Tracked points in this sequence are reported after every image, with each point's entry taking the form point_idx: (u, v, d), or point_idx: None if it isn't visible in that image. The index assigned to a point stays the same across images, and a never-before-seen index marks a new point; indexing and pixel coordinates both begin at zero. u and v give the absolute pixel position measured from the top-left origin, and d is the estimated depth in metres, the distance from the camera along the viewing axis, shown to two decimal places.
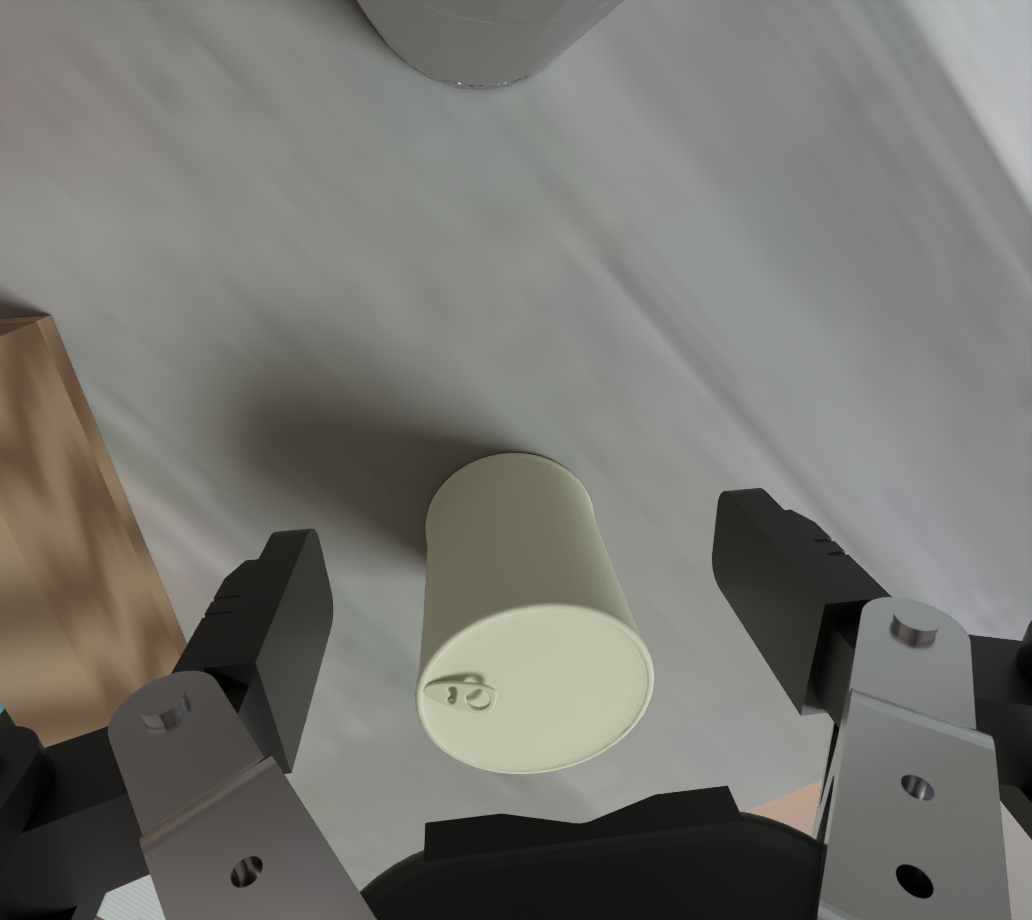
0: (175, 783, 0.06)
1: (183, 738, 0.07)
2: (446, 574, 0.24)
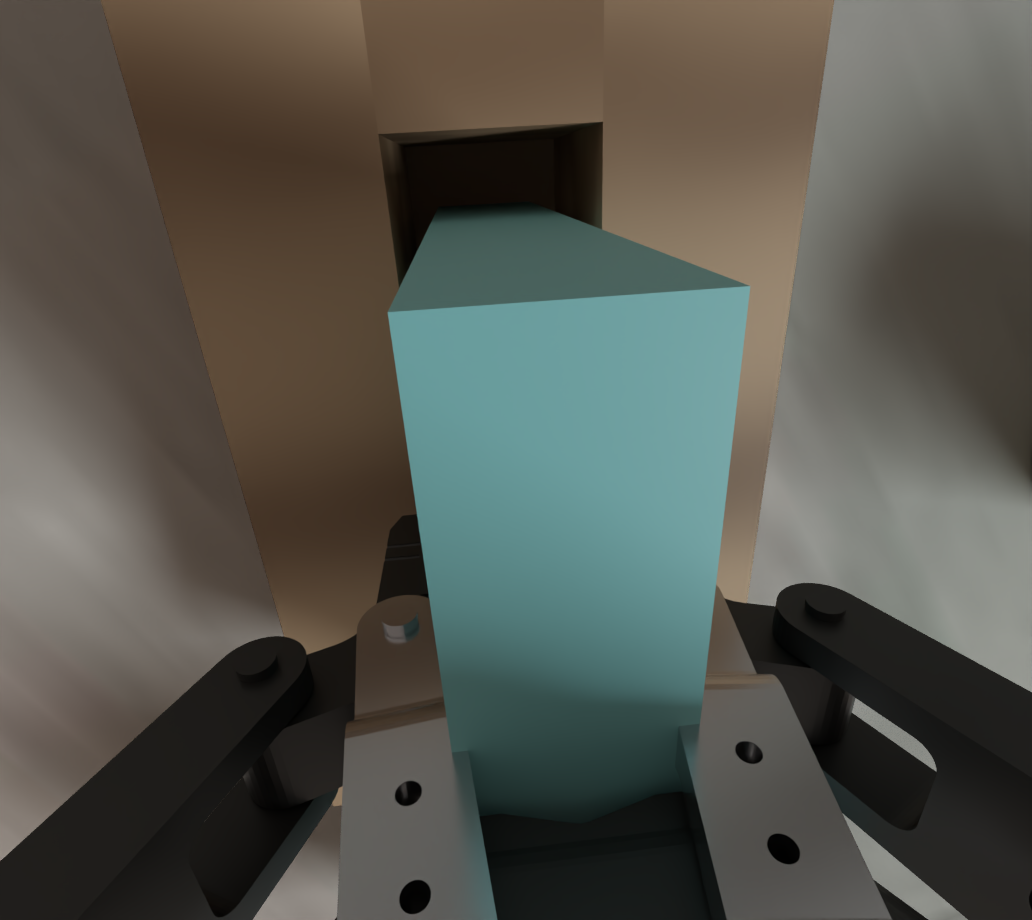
0: (388, 688, 0.07)
1: (403, 653, 0.08)
2: None
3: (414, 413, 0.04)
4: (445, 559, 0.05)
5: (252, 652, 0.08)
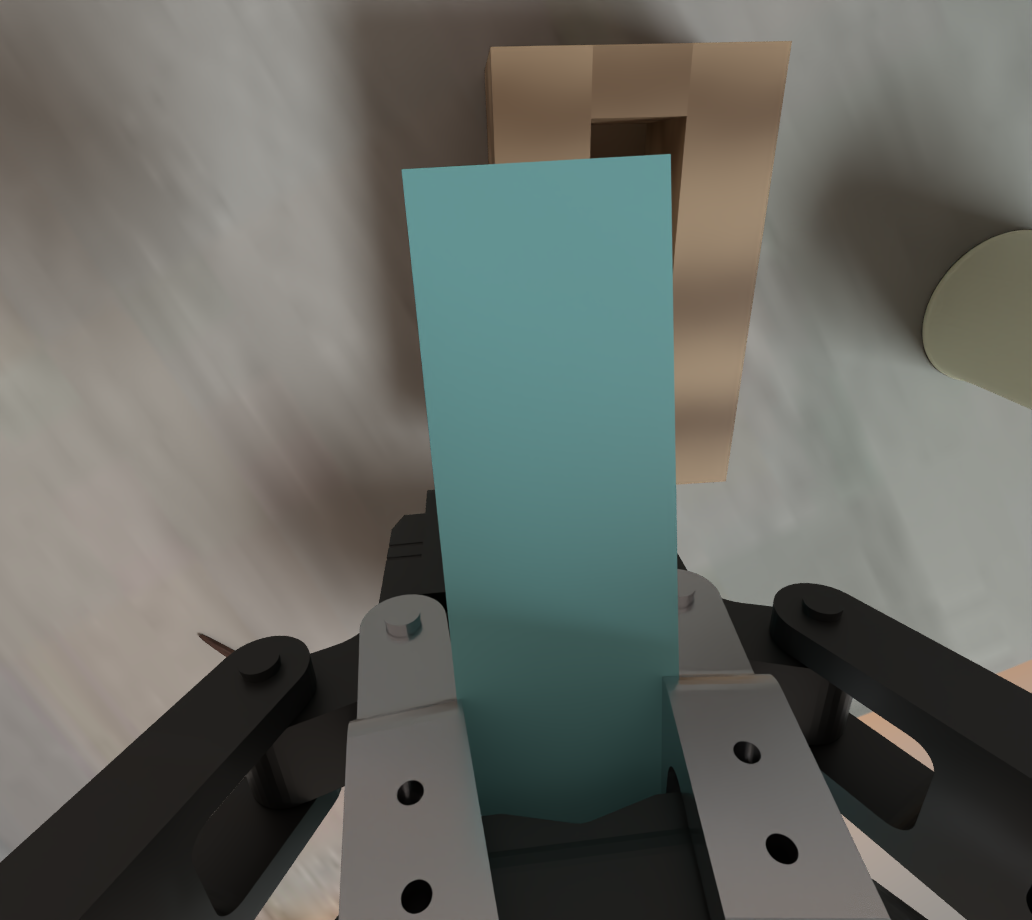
0: (390, 688, 0.07)
1: (406, 653, 0.08)
2: None
3: (419, 252, 0.06)
4: (440, 388, 0.06)
5: (255, 651, 0.08)
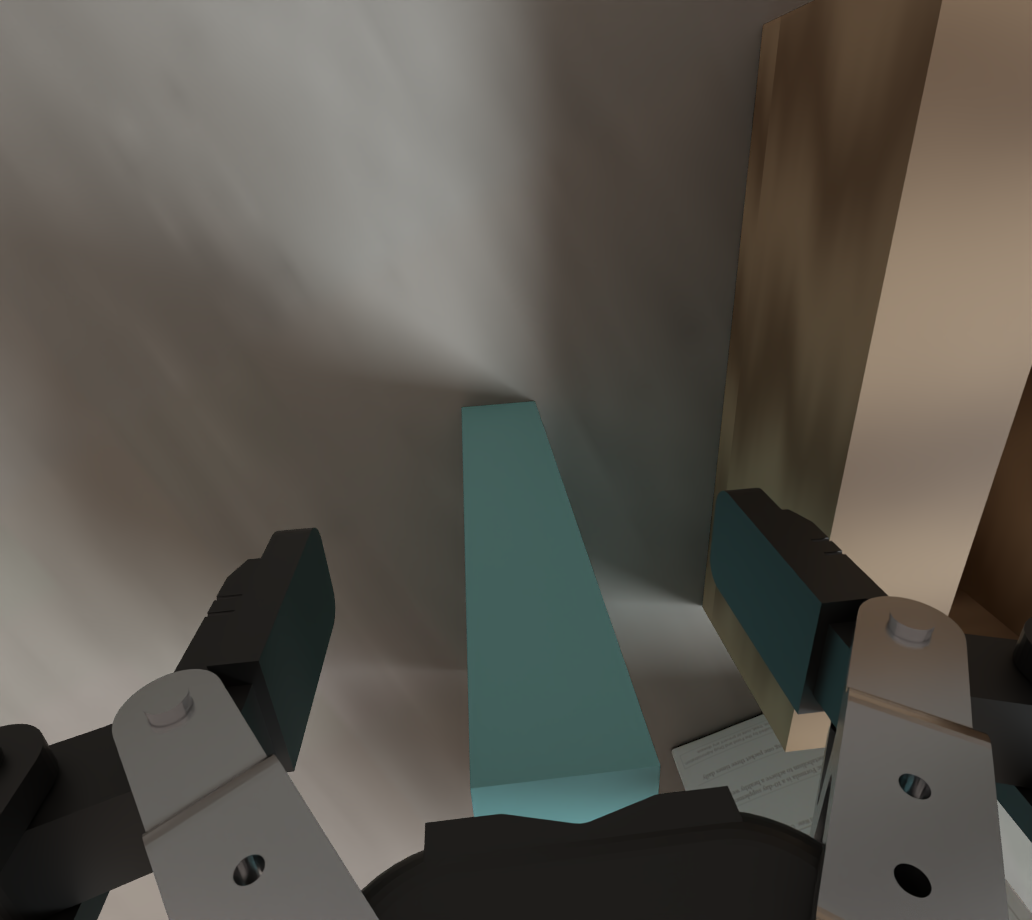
0: (178, 781, 0.06)
1: (186, 737, 0.07)
2: None
3: None
4: None
5: None
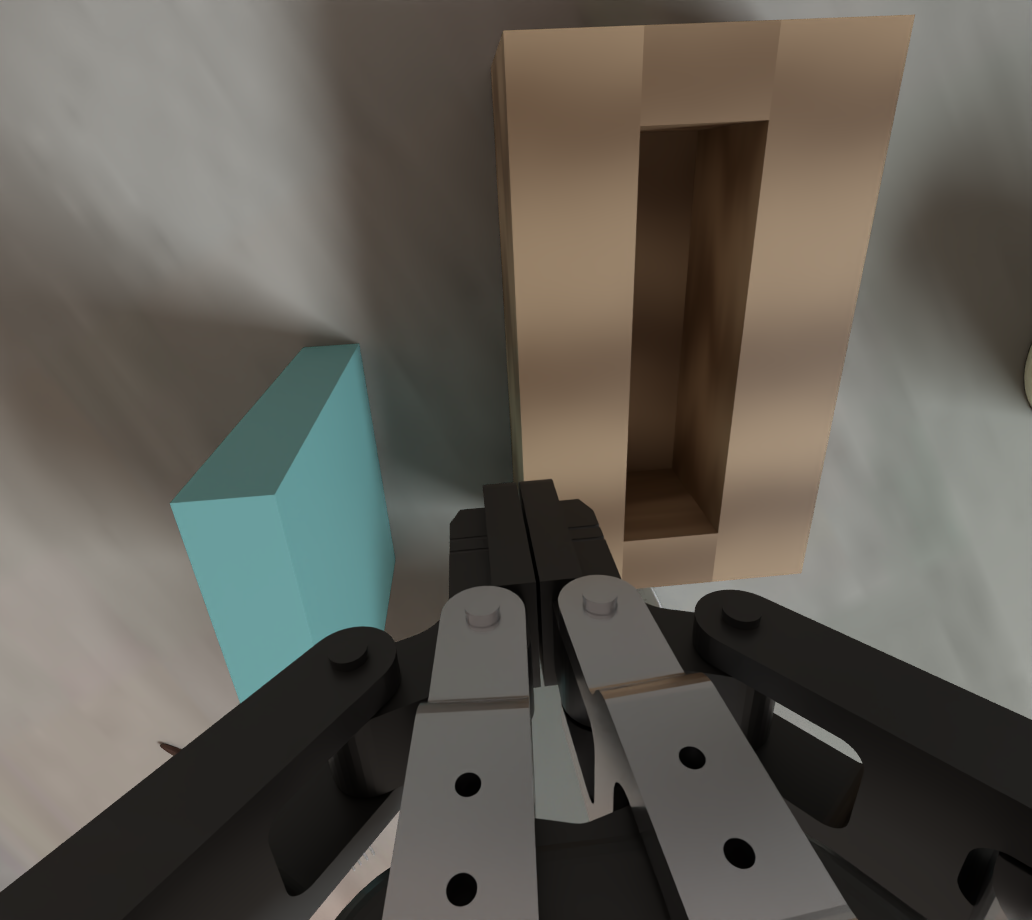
0: (463, 676, 0.07)
1: (482, 643, 0.08)
2: None
3: (182, 528, 0.15)
4: (200, 570, 0.15)
5: (346, 640, 0.08)
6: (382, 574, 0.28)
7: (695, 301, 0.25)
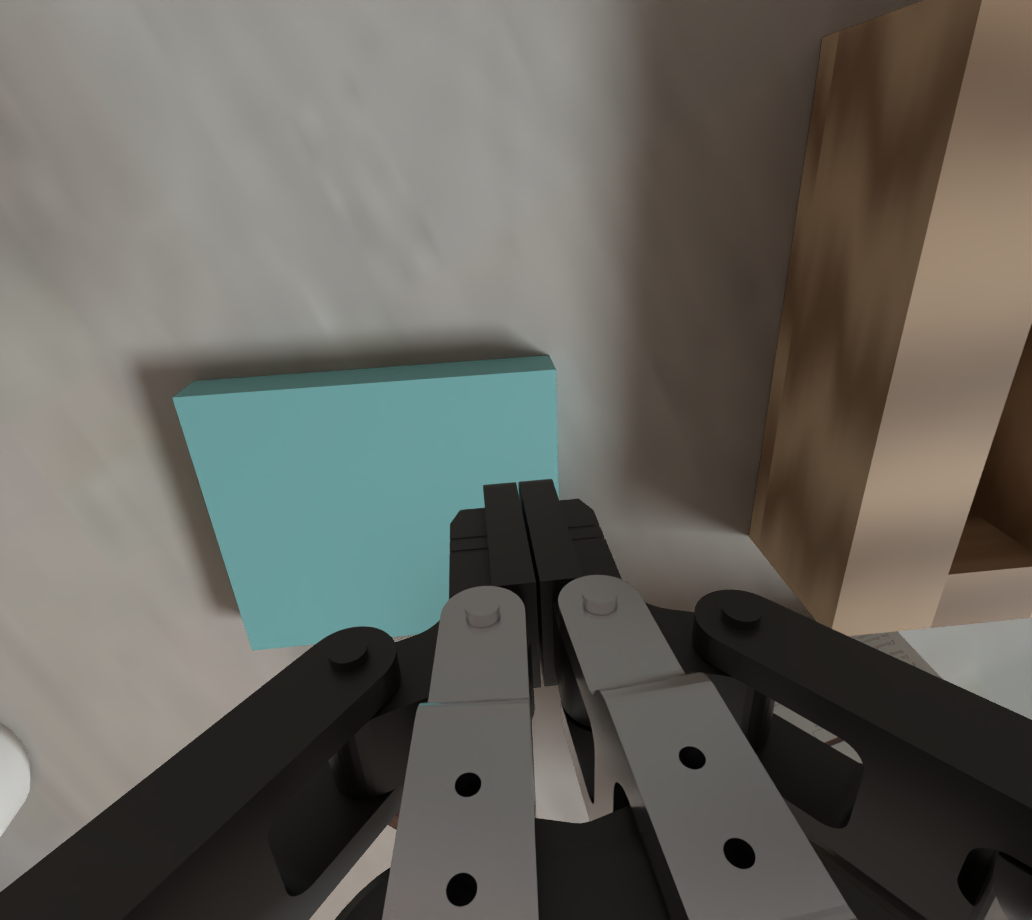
0: (463, 676, 0.07)
1: (482, 643, 0.08)
2: None
3: None
4: None
5: (345, 640, 0.08)
6: None
7: None
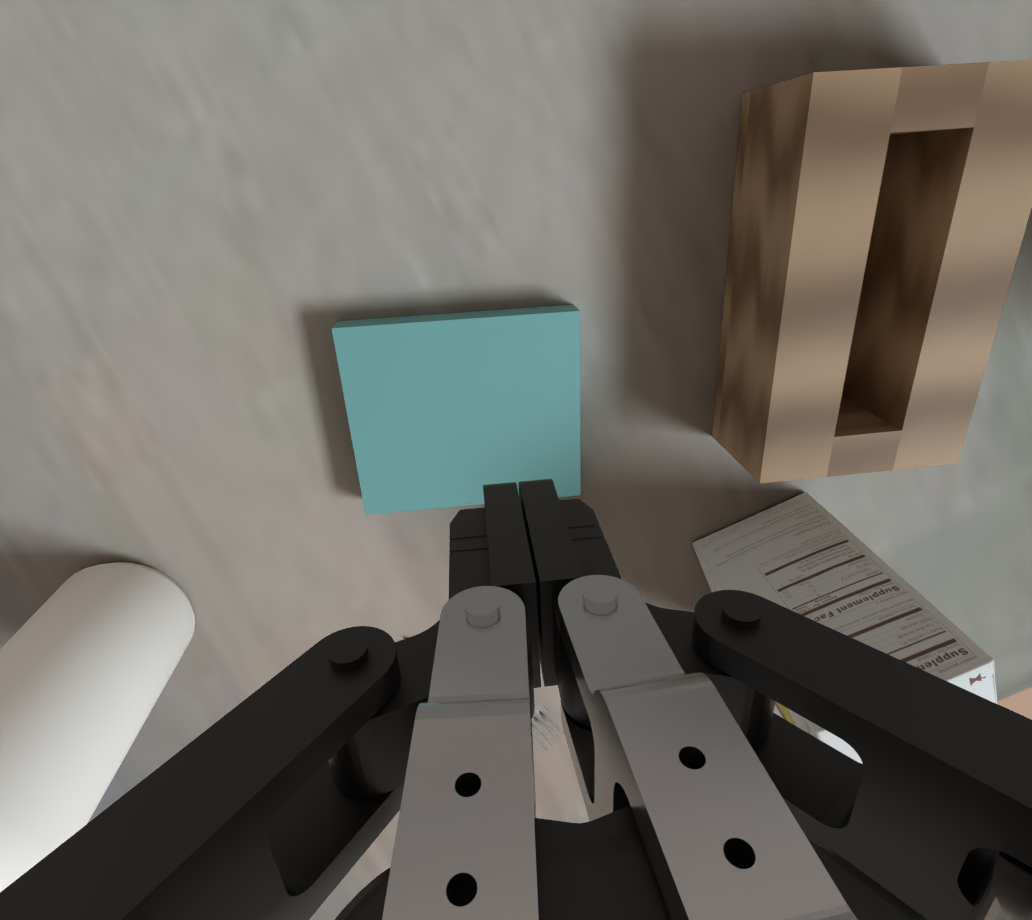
0: (463, 676, 0.07)
1: (482, 643, 0.08)
2: None
3: None
4: None
5: (346, 641, 0.08)
6: (522, 474, 0.38)
7: (878, 261, 0.34)
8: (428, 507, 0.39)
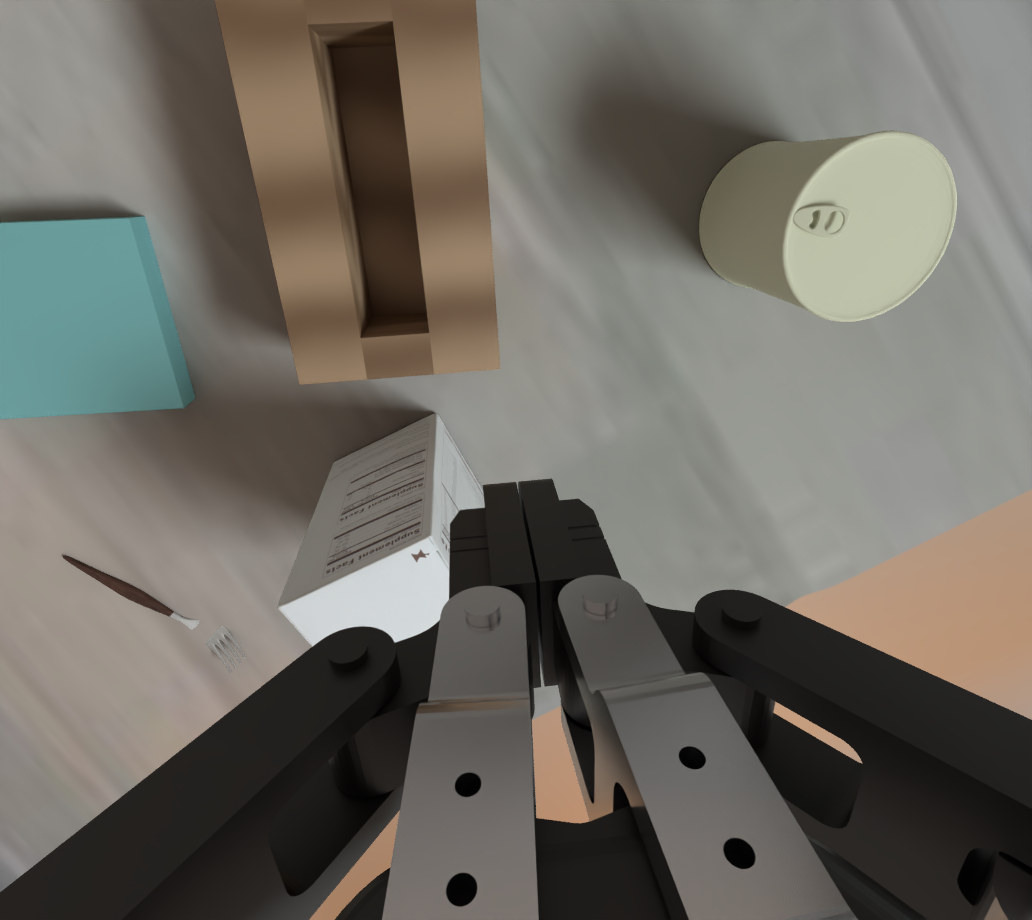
0: (463, 676, 0.07)
1: (482, 643, 0.08)
2: (781, 168, 0.32)
3: None
4: None
5: (345, 640, 0.08)
6: (117, 385, 0.40)
7: None
8: (29, 415, 0.40)
